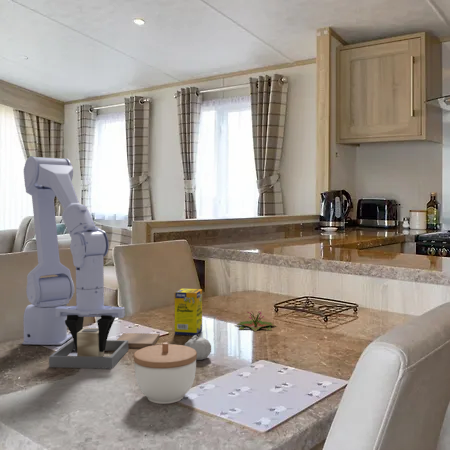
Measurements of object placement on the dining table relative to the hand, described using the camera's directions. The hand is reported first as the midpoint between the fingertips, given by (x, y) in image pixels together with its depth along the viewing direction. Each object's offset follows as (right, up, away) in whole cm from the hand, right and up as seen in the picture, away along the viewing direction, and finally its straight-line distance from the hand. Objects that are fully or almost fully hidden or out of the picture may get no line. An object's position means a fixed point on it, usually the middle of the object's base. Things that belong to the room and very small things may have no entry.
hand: (90, 350), depth 111 cm
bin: (0, -2, 0) cm, 2 cm away
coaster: (+8, -1, +13) cm, 15 cm away
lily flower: (+37, -1, +29) cm, 47 cm away
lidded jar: (+19, -3, -22) cm, 29 cm away
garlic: (+23, -2, 0) cm, 23 cm away
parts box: (0, -2, 0) cm, 2 cm away
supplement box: (+19, -1, +22) cm, 29 cm away
